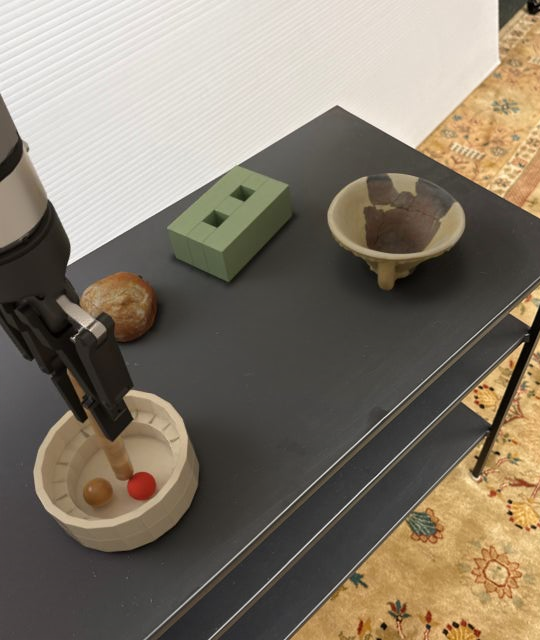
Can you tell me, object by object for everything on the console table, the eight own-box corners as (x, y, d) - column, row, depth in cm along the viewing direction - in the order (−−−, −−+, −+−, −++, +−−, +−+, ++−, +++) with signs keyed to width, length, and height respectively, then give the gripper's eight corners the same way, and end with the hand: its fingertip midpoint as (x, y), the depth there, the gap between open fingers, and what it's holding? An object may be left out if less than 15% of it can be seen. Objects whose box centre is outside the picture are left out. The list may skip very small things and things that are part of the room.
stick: (110, 474, 69) (61, 370, 51) (123, 459, 70) (79, 352, 52) (125, 484, 68) (80, 383, 50) (138, 469, 69) (98, 365, 51)
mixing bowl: (28, 506, 70) (1, 477, 65) (127, 402, 79) (110, 368, 73) (133, 583, 65) (113, 558, 59) (228, 461, 73) (217, 430, 67)
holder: (175, 258, 94) (166, 227, 90) (241, 195, 103) (236, 164, 98) (228, 282, 91) (221, 251, 86) (292, 215, 99) (289, 184, 94)
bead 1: (82, 502, 70) (73, 490, 67) (102, 480, 71) (93, 468, 69) (102, 516, 69) (93, 504, 66) (122, 493, 70) (113, 481, 68)
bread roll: (87, 341, 90) (55, 327, 82) (111, 272, 92) (82, 252, 84) (151, 356, 87) (124, 343, 80) (174, 285, 90) (150, 266, 82)
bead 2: (125, 496, 70) (117, 484, 68) (143, 474, 71) (137, 462, 69) (146, 510, 69) (139, 498, 66) (164, 487, 70) (158, 475, 68)
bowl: (448, 319, 85) (457, 268, 77) (316, 296, 88) (312, 245, 81) (465, 229, 95) (474, 177, 88) (346, 212, 99) (345, 161, 92)
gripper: (127, 227, 39) (201, 428, 57) (-42, 150, 45) (73, 354, 63) (31, 309, 35) (143, 497, 53) (-141, 213, 41) (12, 411, 59)
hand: (105, 419), depth 58 cm, fingers closed on stick, 3 cm apart
